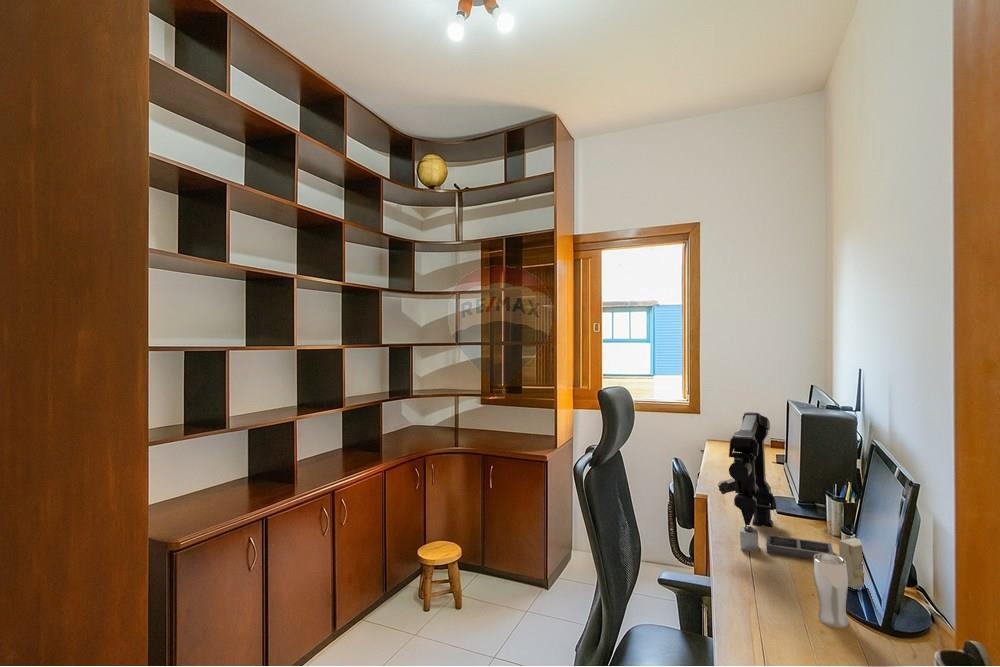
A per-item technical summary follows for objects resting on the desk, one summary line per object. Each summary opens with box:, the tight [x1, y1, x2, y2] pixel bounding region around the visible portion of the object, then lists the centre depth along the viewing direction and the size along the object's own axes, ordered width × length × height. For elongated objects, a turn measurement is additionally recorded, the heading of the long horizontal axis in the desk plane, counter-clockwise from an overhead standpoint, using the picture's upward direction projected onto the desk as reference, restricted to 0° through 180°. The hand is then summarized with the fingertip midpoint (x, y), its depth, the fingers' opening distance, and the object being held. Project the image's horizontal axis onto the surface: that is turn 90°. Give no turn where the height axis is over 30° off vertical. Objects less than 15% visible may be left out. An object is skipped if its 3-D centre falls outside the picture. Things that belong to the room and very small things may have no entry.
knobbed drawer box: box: [739, 525, 760, 553], centre depth 159 cm, size 5×5×7 cm
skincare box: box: [838, 537, 864, 589], centre depth 132 cm, size 6×4×12 cm
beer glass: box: [812, 552, 850, 629], centre depth 117 cm, size 7×7×15 cm
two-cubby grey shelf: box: [765, 533, 834, 561], centre depth 154 cm, size 10×18×2 cm, turn 59°
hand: (748, 520), depth 159 cm, fingers open, 9 cm apart
